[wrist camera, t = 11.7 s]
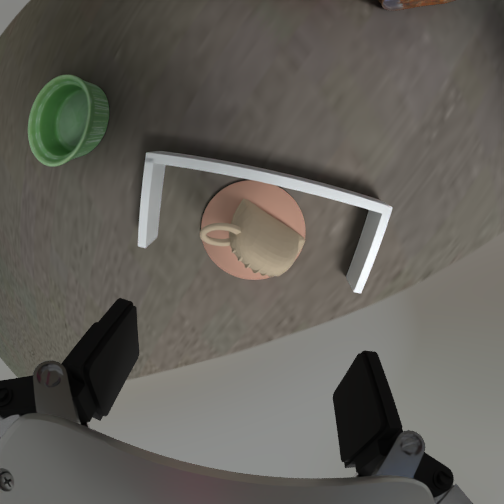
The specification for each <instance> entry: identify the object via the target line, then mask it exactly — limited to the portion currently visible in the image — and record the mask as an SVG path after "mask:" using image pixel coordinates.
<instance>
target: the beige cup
mask: <svg viewBox="0 0 504 504" xmlns="http://www.w3.org/2000/svg"><path fill="white" fill-rule="evenodd" d="M214 230H225V231H229V238H227V239H216V238H211V237H209V236H207V235H206V234H207V233H208V232H211V231H214ZM200 238H201V239H202V240H203V241H204V242H206V243H208V244H211V245H215V246H230V247H231V249H232V253H234V254H235V255H236V256H237V258H238V261H241V262H242V263H243V264H244V265H245V268H248V267H249V268H251V269H252V271H253V273H258V272H259V273H260V274H261V275H262V276H265V275H268V276H269V277H273V276H280V275H281V274H282V273H284V272H286V271H287V270H288V269H289V268H290V267H291V266H292V264H293V263H294V261H295V259H296V256H297V255H298V253H299V252H300V250H301V249H302V247H303V244H304V242H305V238H303V237H302V236H301V235H299V234H298V233H296V232H295V231H294V230H292V229H291V228H289V227H287V226H286V225H284V224H283V223H281V222H280V221H278V220H277V219H275V218H273V217H272V216H270V215H269V214H267V213H266V212H265V211H263V210H262V209H260V208H259V207H257V206H256V205H255V204H253V203H252V202H250V201H249V200H247V199H243V200H242V201H241V203H240V204H239V206H238V208H237V209H236V211H235V213H234V215H233V218H232V221H231V224H229V223H213V224H210V225H207V226H205V227H203V228H202V229H201V231H200Z"/></svg>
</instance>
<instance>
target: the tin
mask: <svg viewBox="0 0 504 504" xmlns="http://www.w3.org/2000/svg"><path fill="white" fill-rule="evenodd" d="M378 1H379V2H380V3H381V5H382V7H383V8H384V9H386V10H390V11H396V10H403V9H408V8H413V7H420V6H427V5H435V4H444V3H448V2H452V1H455V0H378Z"/></svg>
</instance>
